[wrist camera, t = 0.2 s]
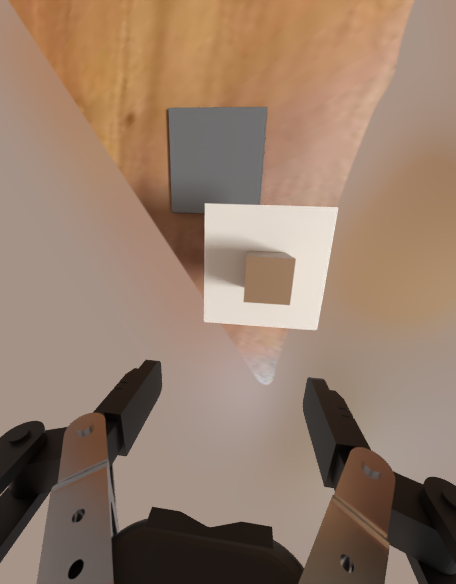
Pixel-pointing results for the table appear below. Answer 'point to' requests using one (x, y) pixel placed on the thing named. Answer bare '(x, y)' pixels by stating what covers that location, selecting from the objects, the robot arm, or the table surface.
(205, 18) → the table surface
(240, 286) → the lid
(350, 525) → the robot arm
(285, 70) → the table surface
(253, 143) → the mat
